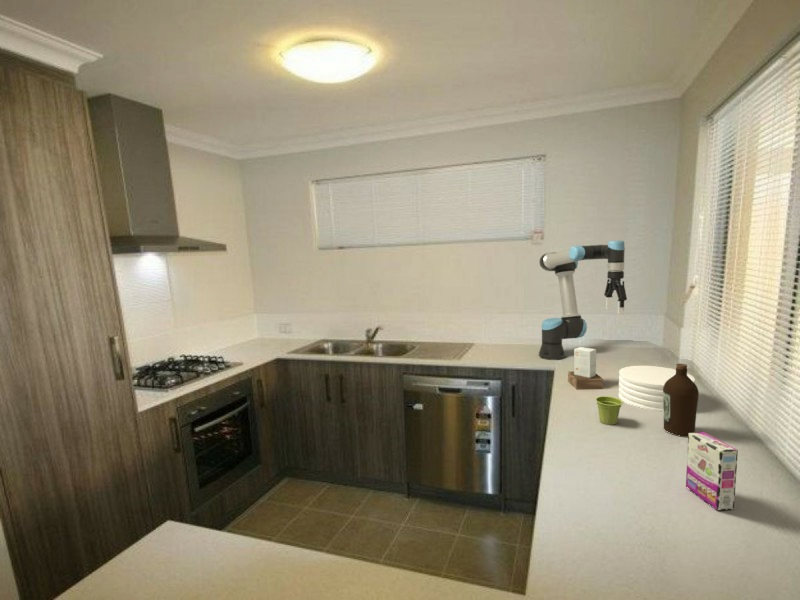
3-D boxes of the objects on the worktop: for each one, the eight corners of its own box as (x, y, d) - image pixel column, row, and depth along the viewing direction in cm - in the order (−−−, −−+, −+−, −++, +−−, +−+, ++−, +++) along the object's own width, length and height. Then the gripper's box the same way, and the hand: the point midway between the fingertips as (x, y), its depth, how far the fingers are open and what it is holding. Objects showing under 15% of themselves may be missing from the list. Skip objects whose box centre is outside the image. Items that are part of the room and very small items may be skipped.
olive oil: (692, 427, 155) (695, 361, 152) (700, 439, 146) (704, 369, 142) (658, 423, 159) (661, 359, 156) (664, 435, 149) (667, 367, 146)
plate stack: (698, 397, 183) (700, 372, 182) (686, 418, 163) (688, 390, 162) (628, 385, 202) (629, 362, 201) (610, 402, 182) (610, 377, 181)
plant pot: (619, 418, 165) (620, 397, 164) (624, 428, 157) (624, 406, 156) (594, 416, 169) (594, 395, 167) (596, 425, 160) (597, 403, 159)
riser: (567, 381, 211) (567, 371, 211) (592, 380, 211) (592, 371, 210) (576, 389, 199) (576, 379, 198) (603, 389, 198) (603, 378, 198)
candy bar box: (735, 510, 108) (739, 449, 106) (717, 511, 107) (721, 451, 105) (701, 485, 119) (704, 430, 117) (684, 487, 118) (687, 432, 116)
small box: (596, 375, 203) (596, 349, 201) (589, 378, 199) (590, 351, 197) (580, 371, 209) (580, 346, 208) (573, 374, 205) (573, 348, 204)
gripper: (598, 269, 228) (597, 308, 231) (619, 272, 203) (618, 315, 206) (612, 269, 228) (611, 307, 230) (635, 272, 203) (634, 315, 206)
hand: (614, 311), depth 218 cm, fingers open, 13 cm apart
